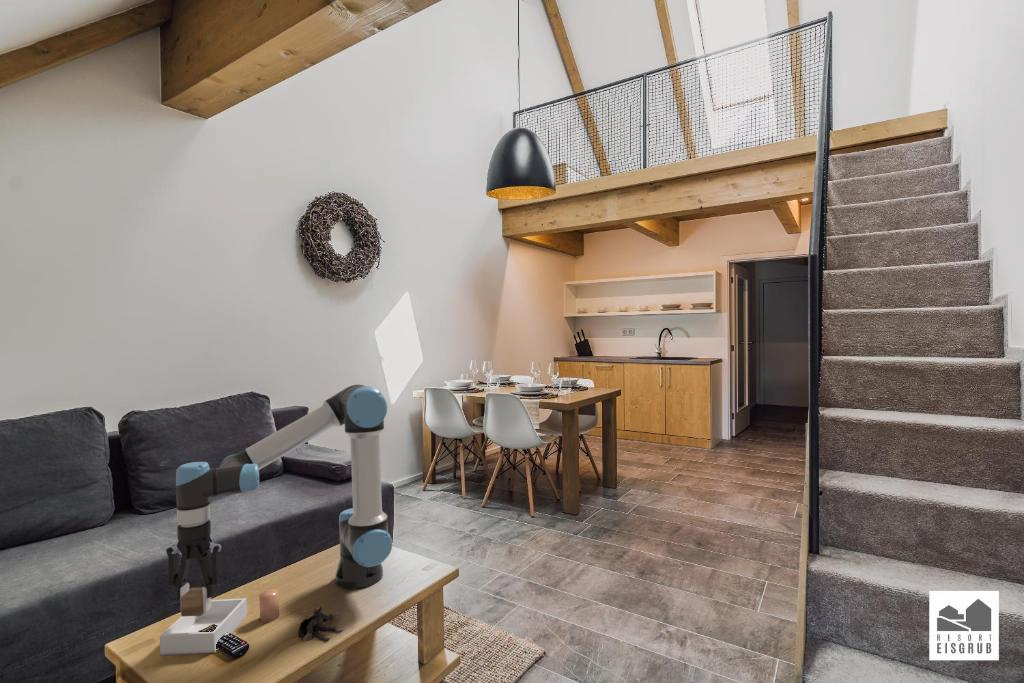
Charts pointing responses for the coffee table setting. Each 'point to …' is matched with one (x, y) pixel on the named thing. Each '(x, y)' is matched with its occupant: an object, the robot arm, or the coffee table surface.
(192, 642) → the tote
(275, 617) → the round-ended peach cylinder
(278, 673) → the coffee table surface
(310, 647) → the coffee table surface
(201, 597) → the walnut cube
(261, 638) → the coffee table surface
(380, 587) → the coffee table surface
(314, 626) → the dark brown branched piece
